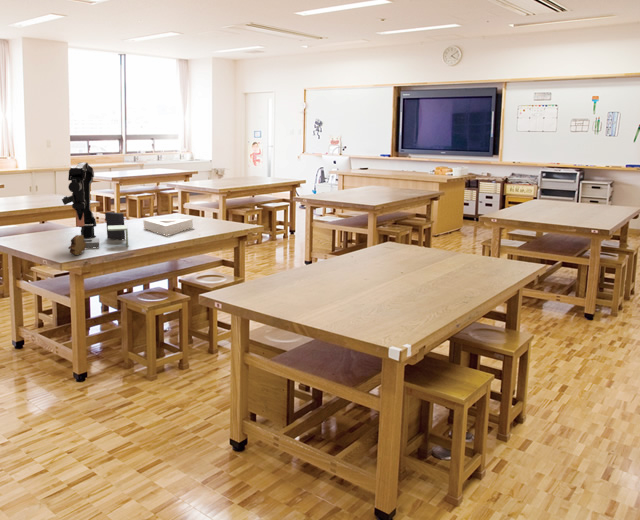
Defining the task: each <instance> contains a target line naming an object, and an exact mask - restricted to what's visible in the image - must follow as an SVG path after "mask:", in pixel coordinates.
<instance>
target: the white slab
mask: <svg viewBox="0 0 640 520" xmlns="http://www.w3.org/2000/svg"><path fill="white" fill-rule="evenodd" d="M193 222H194V221H193V219H192V218H184V219H183V218H181V219H179V218H177V219H174V218H173V219H172V218H171V219H170V218H168V219H167V218H166V219H165V218H164V219H143V229H144V228H145V229H144V230H146V229H148V230H147V231H149V230H151V231H150V232H152V231H154V232H153V233H155V232H158V233H157V234H159V233H161V234H160V235H162V234H165V235H167V236H169V235H168V234H170V235H173V234H172V233H174V234H177V233H180V231H181V232H183V230H184V231H187V230H186V229H188V230H190V229H189V228H191V229H193V228H194V227H193V226H194V225H193ZM192 227H193V228H192ZM176 232H177V233H176ZM165 235H164V236H165Z"/></svg>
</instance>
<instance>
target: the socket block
mask: <svg viewBox="0 0 640 520" xmlns="http://www.w3.org/2000/svg"><path fill="white" fill-rule="evenodd" d="M83 242H86V246H85V248H88V249H94V248H93V247H96V248H95V249H98V248H97V247H99V248H100V238H84V240H83Z"/></svg>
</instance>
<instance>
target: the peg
mask: <svg viewBox="0 0 640 520" xmlns="http://www.w3.org/2000/svg"><path fill="white" fill-rule="evenodd" d="M75 217H76V227H79V226H84V213H83V216H82V219H81V220H79V218H78V215H77V211H76V210H75Z"/></svg>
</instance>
